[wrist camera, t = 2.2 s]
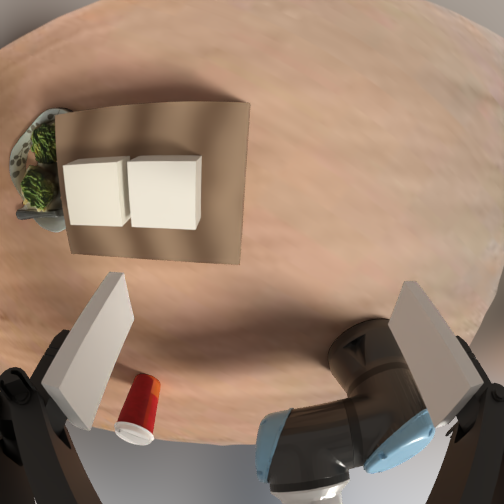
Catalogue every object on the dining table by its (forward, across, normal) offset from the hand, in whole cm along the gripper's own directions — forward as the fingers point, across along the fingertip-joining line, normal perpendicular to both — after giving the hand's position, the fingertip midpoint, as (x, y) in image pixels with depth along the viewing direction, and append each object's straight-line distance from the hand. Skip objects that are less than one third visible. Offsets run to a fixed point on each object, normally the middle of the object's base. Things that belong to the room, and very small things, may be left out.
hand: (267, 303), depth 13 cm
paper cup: (+25, +20, +42) cm, 53 cm away
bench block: (+25, +11, -1) cm, 27 cm away
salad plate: (+26, +28, -1) cm, 38 cm away
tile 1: (+16, +8, -1) cm, 18 cm away
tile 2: (+16, +15, -1) cm, 22 cm away
